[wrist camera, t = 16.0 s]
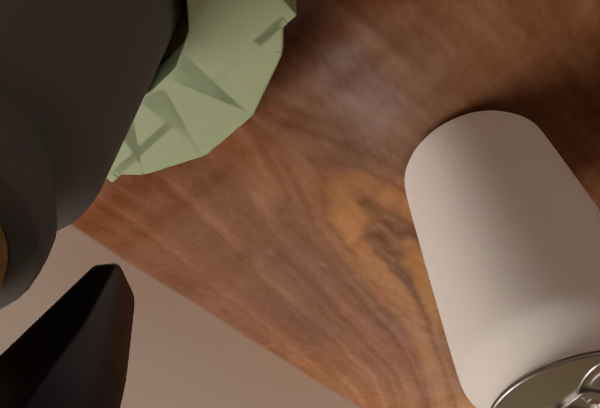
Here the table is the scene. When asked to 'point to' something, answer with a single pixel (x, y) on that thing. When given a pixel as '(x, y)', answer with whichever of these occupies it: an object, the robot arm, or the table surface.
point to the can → (510, 261)
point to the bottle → (66, 113)
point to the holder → (206, 83)
